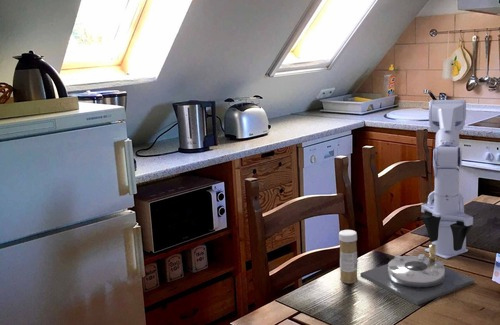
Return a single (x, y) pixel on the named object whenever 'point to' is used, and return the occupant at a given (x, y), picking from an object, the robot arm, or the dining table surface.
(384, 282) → the base plate
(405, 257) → the tabbed hub disc
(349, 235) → the sprinkles bottle
